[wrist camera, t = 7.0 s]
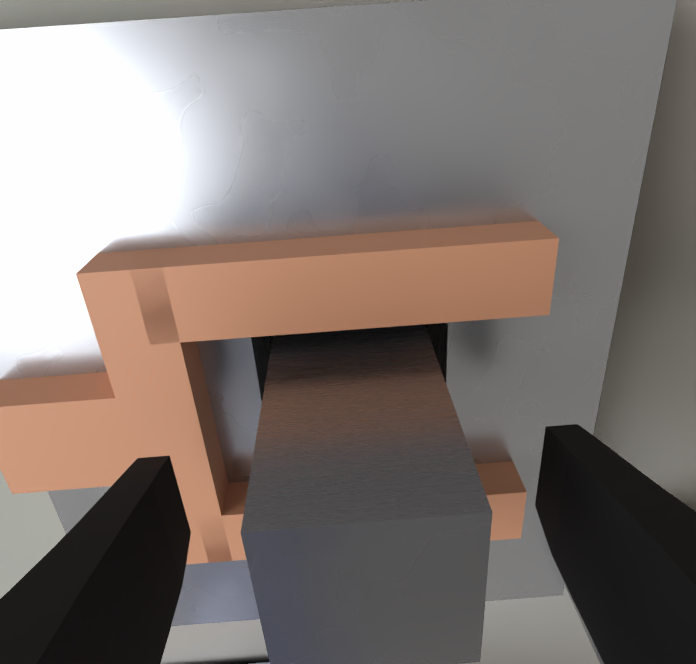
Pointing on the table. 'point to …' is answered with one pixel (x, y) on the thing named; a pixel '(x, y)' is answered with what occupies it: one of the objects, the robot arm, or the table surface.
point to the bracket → (241, 322)
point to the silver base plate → (336, 196)
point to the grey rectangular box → (365, 505)
